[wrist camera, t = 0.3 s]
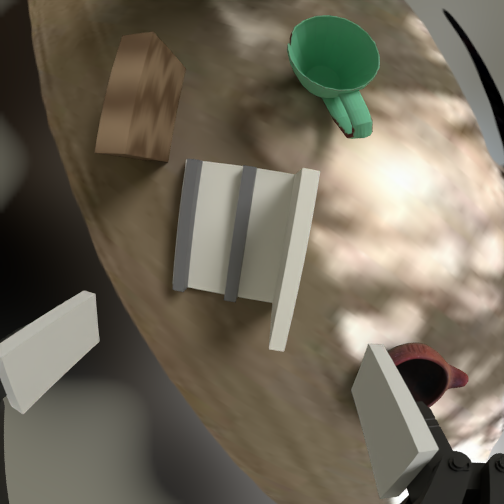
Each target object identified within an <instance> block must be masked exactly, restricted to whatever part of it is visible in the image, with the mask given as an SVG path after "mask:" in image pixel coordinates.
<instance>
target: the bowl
mask: <svg viewBox="0 0 504 504" xmlns="http://www.w3.org/2000/svg"><path fill="white" fill-rule="evenodd" d="M387 352H388V354H389V355H390V357H391V359H392V361H393V362H394V364H395V366H396V368H397V370H398V371H399V373H400V375H401V377H402V379H403V380H404V382H405V384H406V386H407V388H408V390H409V391H410V393H411V395H412V397H413V399H414V401H415V402H419V401H422V402H423V403H424V404H425V405H427V406H428V407H431V406H432V405H433V404H434V403H436V402H437V401H438V400H439V399H440V398H441V397H442V395H443V394H444V393H445V391H446V390H447V389H450V388H457V387H463V386H465V385H466V384H467V382H468V376H467V374H466V373H464V372H463V371H461V370H459V369H457V368H455V367H453V366H451V365H449V364H448V363H447V362H446V361H445V360H444V359H443V358H442V356H441V355H440V354H439V353H438V352H437V351H435V350H434V349H433V348H431V347H429V346H427V345H425V344H422V343H407V344H403V345H399V346H397V347H394V348H392V349H391V350H389V351H387Z"/></svg>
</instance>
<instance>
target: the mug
mask: <svg viewBox="0 0 504 504" xmlns="http://www.w3.org/2000/svg"><path fill="white" fill-rule="evenodd" d="M287 52H288V56H289V60H290V64H291V66H292V69H293V71H294V73H295V74H296V76H297V78H298V79H299V81H300V82H301V84H302V85H303V86H304V87H305V88H306V89H307V90H308V91H309V92H310V93H312V94H314V95H316V96H318V97H321V98H322V99H323V101H324V103H325V105H326V107H327V109H328V110H329V112H330V114H331V116H332V118H333V120H334V122H335V123H336V124H337V125H338V127H339V128H340V129H341V131H342V132H343V133H344V135H345V136H346V137H347V138H351V139H354V138H365V137H368V136H370V135H371V133H372V119H371V116H370V113H369V111H368V108H367V106H366V104H365V102H364V100H363V98H362V96H361V94H360V92H359V90H360V89H363V88H364V87H365V86H366V85H368V84H369V83H370V82H371V81H372V80H373V79H374V78H375V76H376V74H377V72H378V69H379V66H380V55H379V52H378V49H377V46H376V44H375V42H374V41H373V40H372V38H371V37H370V35H369V34H368V33H367V32H366V31H365V30H363V29H362V28H361V27H360V26H358V25H357V24H355V23H353V22H351V21H349V20H347V19H345V18H341V17H336V16H331V15H324V16H314V17H311V18H308V19H305V20H303V21H302V22H301V23H299V24H298V25H297V26H295V27H294V29H293V31H292V33H291V36H290V44H289V43H288V46H287Z"/></svg>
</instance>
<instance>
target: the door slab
mask: <svg viewBox="0 0 504 504" xmlns="http://www.w3.org/2000/svg"><path fill="white" fill-rule="evenodd" d="M185 71H186V68H185V67H184V66H183V64H182V63H181V62H180V61H179V60H178V59H177V58H176V56H175V55H174V54H173V53H172V52H171V51H170V50H169V48H168V47H167V46H166V45H165V44H164V43H163V42H162V41H161V39H160V38H159V37H158V36H157V35H156V34H155V33H154V32H146V33H138V34H131V35H124V36H122V38H121V41H120V44H119V47H118V51H117V54H116V57H115V61H114V64H113V68H112V71H111V75H110V79H109V83H108V87H107V91H106V95H105V99H104V104H103V108H102V113H101V118H100V123H99V129H98V135H97V141H96V147H95V153H99V154H107V155H114V156H120V157H127V158H133V159H140V160H150V161H162V162H168V160H169V153H170V147H171V141H172V135H173V129H174V124H175V118H176V113H177V108H178V103H179V98H180V93H181V89H182V84H183V79H184V75H185Z"/></svg>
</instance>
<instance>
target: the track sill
mask: <svg viewBox="0 0 504 504" xmlns="http://www.w3.org/2000/svg"><path fill="white" fill-rule="evenodd" d="M319 176H320V171H317V170H312V169H307V168H302V169H301V170H300V171H299V172H297V173H296V174H290V173H284V172H278V171H272V170H265V169H259V168H256V167H252V166H245V165H243V166H238V165H230V164H222V163H214V162H205V161H201V160H195V159H187V160H186V165H185V172H184V179H183V186H182V194H181V202H180V210H179V219H178V228H177V237H176V248H175V259H174V271H173V290H176V291H181V292H184V291H185V290H186V288H187V287H190V288H195V289H200V290H205V291H210V292H215V293H220V294H225V295H224V300H226V301H231V302H236V299H237V297H242V298H247V299H253V300H258V301H264V302H270V303H272V315H271V328H270V340H269V349H272V350H278V351H284V349H285V345H286V341H287V337H288V333H289V328H290V324H291V320H292V315H293V311H294V307H295V302H296V297H297V293H298V288H299V284H300V279H301V274H302V269H303V264H304V259H305V254H306V249H307V244H308V239H309V234H310V228H311V223H312V217H313V212H314V206H315V200H316V194H317V188H318V182H319Z"/></svg>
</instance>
